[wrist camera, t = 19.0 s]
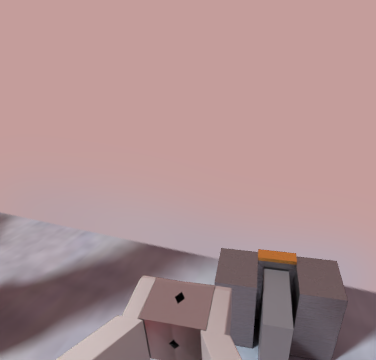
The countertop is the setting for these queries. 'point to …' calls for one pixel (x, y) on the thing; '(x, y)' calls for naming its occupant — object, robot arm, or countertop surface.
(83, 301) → the countertop surface
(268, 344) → the grey block
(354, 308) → the countertop surface
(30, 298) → the countertop surface
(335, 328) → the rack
